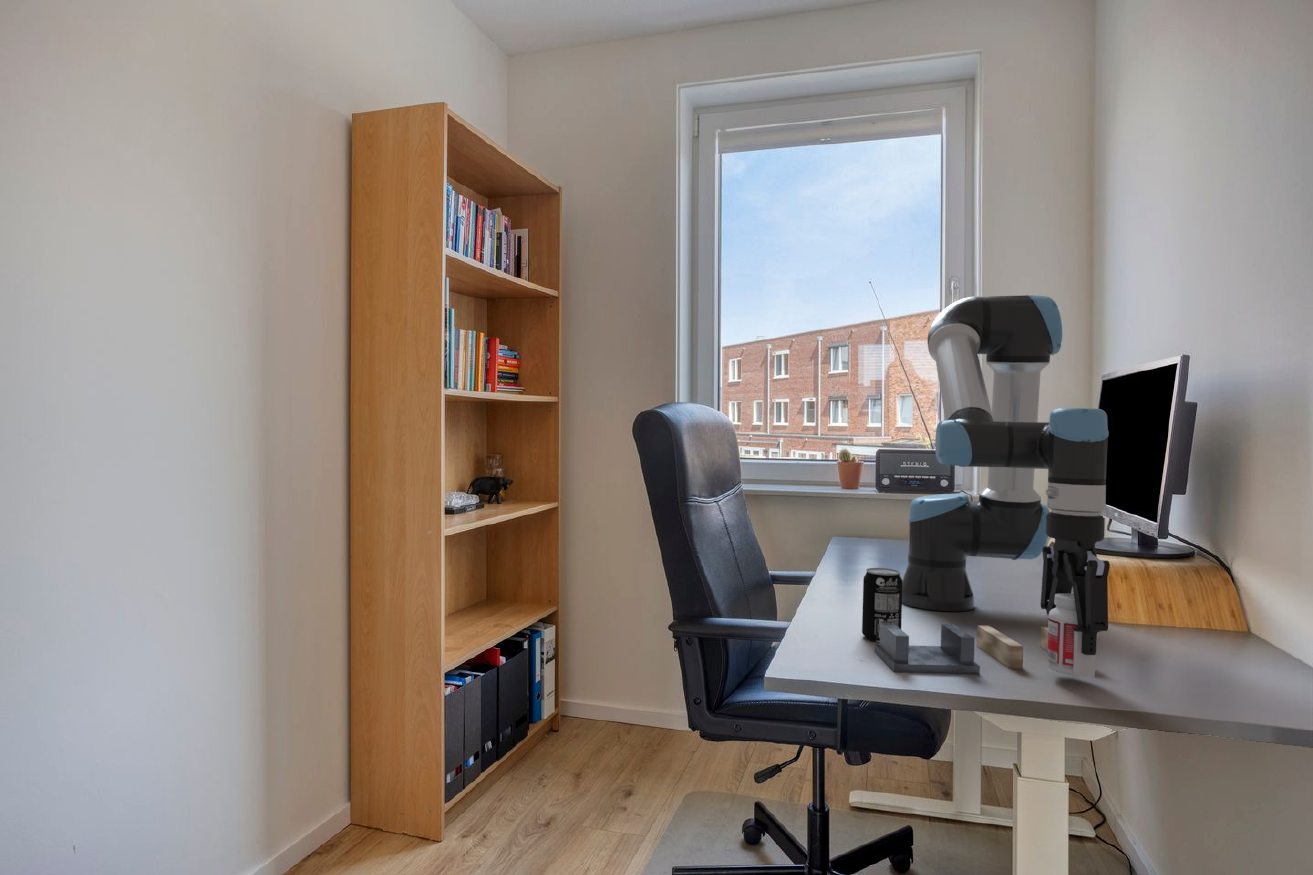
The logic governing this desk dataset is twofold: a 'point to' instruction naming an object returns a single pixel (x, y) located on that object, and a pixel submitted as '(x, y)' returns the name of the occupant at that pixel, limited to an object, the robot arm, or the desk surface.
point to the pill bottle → (1062, 634)
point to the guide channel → (1005, 646)
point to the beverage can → (881, 600)
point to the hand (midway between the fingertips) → (1070, 667)
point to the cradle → (927, 651)
